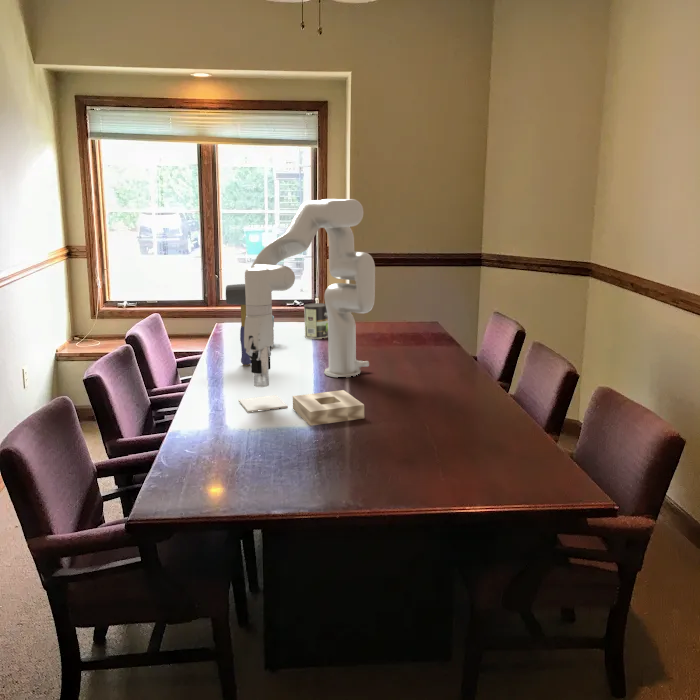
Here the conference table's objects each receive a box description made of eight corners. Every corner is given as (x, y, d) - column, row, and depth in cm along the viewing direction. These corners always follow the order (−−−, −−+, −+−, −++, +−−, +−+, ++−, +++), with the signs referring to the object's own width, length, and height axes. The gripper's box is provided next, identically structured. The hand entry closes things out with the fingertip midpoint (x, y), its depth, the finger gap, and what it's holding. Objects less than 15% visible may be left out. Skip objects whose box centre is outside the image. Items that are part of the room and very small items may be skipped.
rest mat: (276, 396, 220) (276, 395, 220) (287, 407, 209) (287, 405, 209) (238, 401, 215) (238, 399, 215) (247, 412, 205) (247, 410, 204)
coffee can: (328, 334, 312) (328, 302, 309) (327, 339, 302) (327, 306, 299) (305, 334, 312) (304, 303, 309) (303, 339, 302) (303, 306, 299)
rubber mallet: (264, 362, 263) (261, 282, 256) (263, 367, 256) (259, 285, 249) (230, 363, 262) (226, 282, 256) (228, 368, 255) (224, 285, 248)
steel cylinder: (258, 382, 213) (257, 343, 211) (271, 384, 212) (270, 345, 209) (251, 386, 209) (249, 346, 207) (264, 387, 208) (263, 348, 205)
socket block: (343, 402, 213) (343, 390, 212) (364, 418, 199) (364, 404, 198) (292, 409, 207) (292, 396, 207) (310, 425, 193) (310, 411, 192)
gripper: (262, 305, 215) (264, 363, 219) (232, 314, 200) (234, 376, 204) (284, 306, 212) (285, 365, 216) (255, 315, 197) (257, 379, 201)
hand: (261, 370), depth 210 cm, fingers closed on steel cylinder, 4 cm apart
